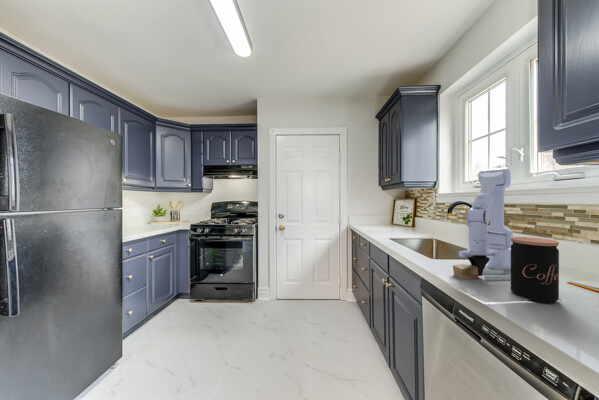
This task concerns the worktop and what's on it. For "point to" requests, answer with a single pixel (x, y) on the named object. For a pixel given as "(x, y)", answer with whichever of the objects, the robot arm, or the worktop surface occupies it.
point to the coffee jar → (535, 269)
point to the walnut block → (466, 271)
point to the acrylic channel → (489, 275)
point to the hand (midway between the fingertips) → (478, 275)
